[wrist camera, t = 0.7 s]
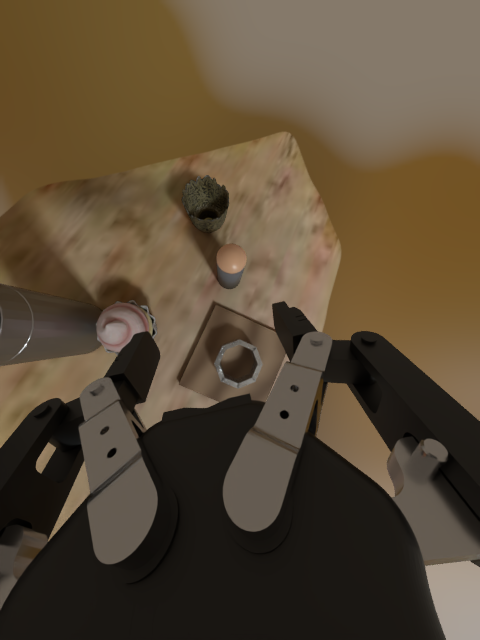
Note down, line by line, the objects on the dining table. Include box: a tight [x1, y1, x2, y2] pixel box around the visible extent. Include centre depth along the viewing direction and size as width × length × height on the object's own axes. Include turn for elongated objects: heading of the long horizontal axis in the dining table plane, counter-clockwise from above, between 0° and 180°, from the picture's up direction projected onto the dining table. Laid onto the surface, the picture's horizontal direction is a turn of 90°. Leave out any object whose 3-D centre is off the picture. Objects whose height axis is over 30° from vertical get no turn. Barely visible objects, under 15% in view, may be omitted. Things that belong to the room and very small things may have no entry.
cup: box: [182, 175, 229, 233], centre depth 34 cm, size 8×7×8 cm
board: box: [179, 305, 286, 402], centre depth 36 cm, size 16×16×1 cm
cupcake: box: [96, 300, 157, 356], centre depth 31 cm, size 9×9×10 cm
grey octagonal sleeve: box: [214, 339, 263, 389], centre depth 34 cm, size 8×8×4 cm
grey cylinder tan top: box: [216, 244, 247, 289], centre depth 33 cm, size 4×4×10 cm
